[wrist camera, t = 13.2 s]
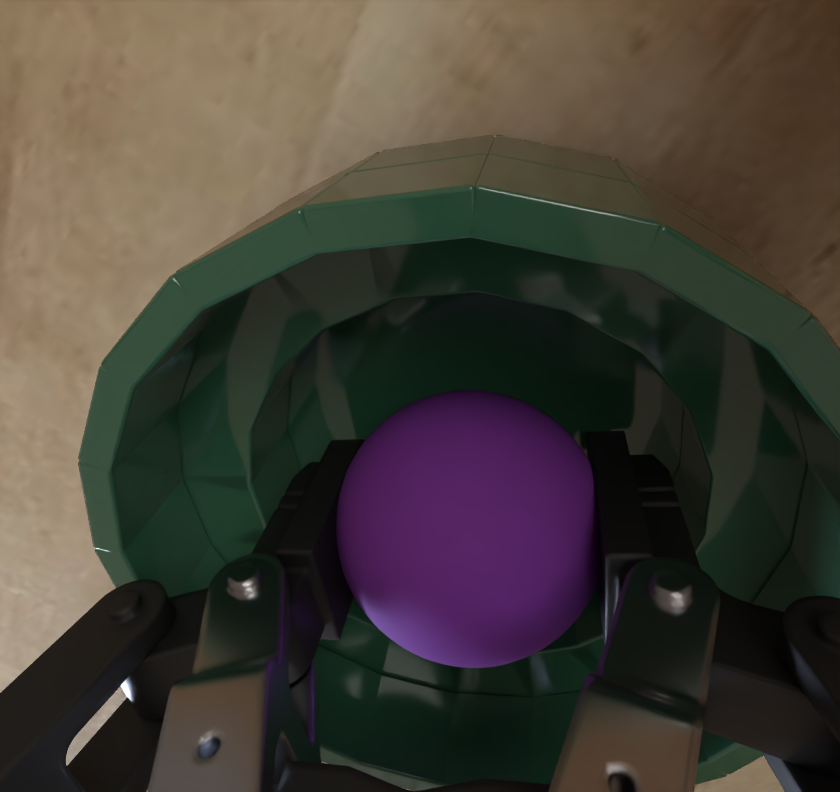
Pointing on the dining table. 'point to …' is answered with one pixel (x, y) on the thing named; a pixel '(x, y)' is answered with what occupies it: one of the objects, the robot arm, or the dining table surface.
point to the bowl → (470, 370)
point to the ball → (470, 528)
